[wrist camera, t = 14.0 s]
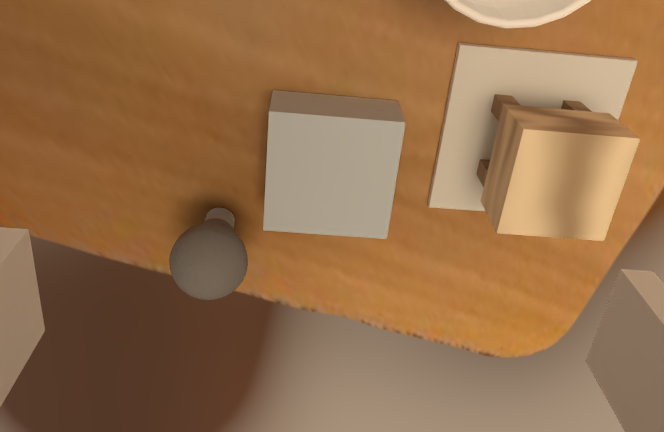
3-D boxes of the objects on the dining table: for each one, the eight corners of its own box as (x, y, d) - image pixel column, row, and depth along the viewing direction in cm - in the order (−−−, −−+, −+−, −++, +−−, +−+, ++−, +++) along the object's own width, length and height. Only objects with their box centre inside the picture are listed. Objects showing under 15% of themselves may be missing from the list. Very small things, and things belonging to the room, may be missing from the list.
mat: (427, 202, 55) (428, 207, 54) (458, 42, 48) (460, 45, 47) (581, 214, 56) (585, 218, 55) (633, 58, 49) (637, 61, 48)
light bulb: (227, 258, 57) (211, 328, 48) (172, 220, 55) (146, 286, 46) (268, 215, 55) (260, 280, 46) (213, 174, 53) (194, 234, 44)
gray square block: (267, 201, 54) (263, 230, 50) (272, 89, 49) (268, 111, 45) (380, 209, 55) (386, 238, 51) (397, 100, 50) (405, 122, 46)
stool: (469, 179, 53) (496, 233, 45) (489, 87, 49) (523, 129, 41) (561, 186, 53) (603, 240, 45) (588, 96, 49) (640, 138, 42)
